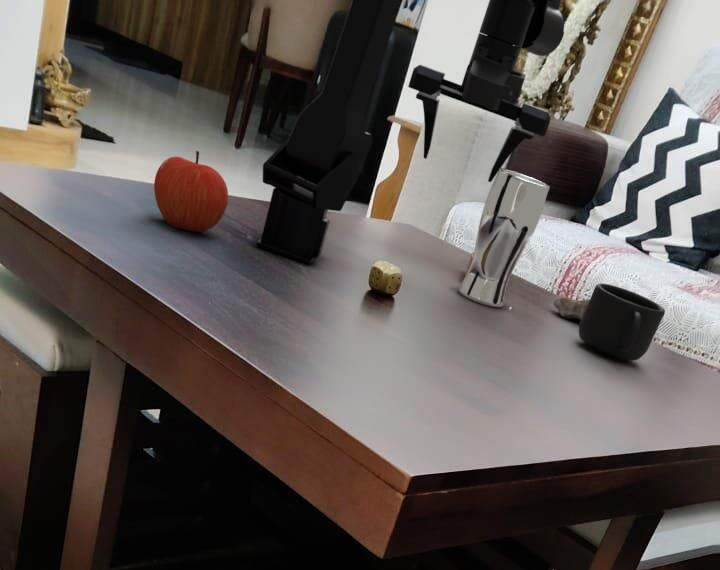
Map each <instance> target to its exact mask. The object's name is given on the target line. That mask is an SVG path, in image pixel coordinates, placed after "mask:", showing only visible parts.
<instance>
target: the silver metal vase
mask: <svg viewBox="0 0 720 570" xmlns="http://www.w3.org/2000/svg"><path fill="white" fill-rule="evenodd" d="M550 188H551V186H549V185H548V184H546V183H545V182H543V181H541V180H538V179H536V178H534V177H530V176H528V175H525V174H523V173H521V172H517V171H513V170H510V169H507V168H502V167H501V168H500V169H499V171H498V173H497V174H496V175H495V177H494V181H493V183H492V186H491V188H490V190H489V192H488V195H487V198H486V200H485V203H484V206H483V209H482V213H481V216H480V219H479V225H478V230H477V235H476V241H475V246H474V251H473V252H474V255H473V259H472V262H471V265H470V268H469V270H468V272H467V274H466V276H465V275H464V278H463V280H462V281H461V283H460V285H459V287H458V293H459V294H460V295H461V296H463V297H464V298H466V299H469V300H470V301H473V302H475V303H478V304H481V305H484V306H486V307H487V306H488V307H492V308H502V307H503V306H504V302H505V299H506V298H505V297H506V293H507V288H508V286H509V285H508V284H509V282H510V279H511V276H512V274H513V272H514V271H515V268H516V266H517V265H518V262H519V261H520V259H521V257H522V255H524V252H525V250H526V249H527V247H528V245H529V243H530V241H531V239H532V237H533V236H534V234H535V232H536V229H537V226H538V224H539V222H540V219H541V215H542V213H543V211H544V206H545V204H546V199H547V196H548V193H549V191H550Z"/></svg>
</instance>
